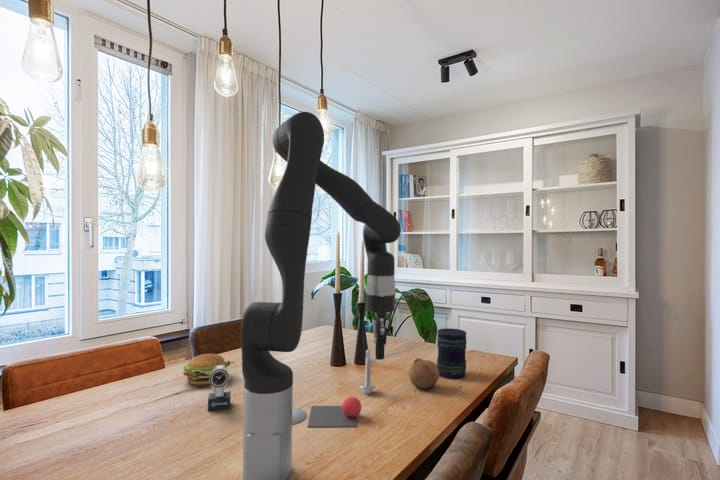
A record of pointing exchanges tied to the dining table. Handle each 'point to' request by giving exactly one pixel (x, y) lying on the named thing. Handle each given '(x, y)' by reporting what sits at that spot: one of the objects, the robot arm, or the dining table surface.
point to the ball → (351, 407)
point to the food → (203, 368)
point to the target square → (330, 417)
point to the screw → (367, 376)
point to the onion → (423, 374)
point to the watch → (219, 389)
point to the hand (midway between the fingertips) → (379, 358)
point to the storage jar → (451, 353)
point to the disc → (297, 415)
